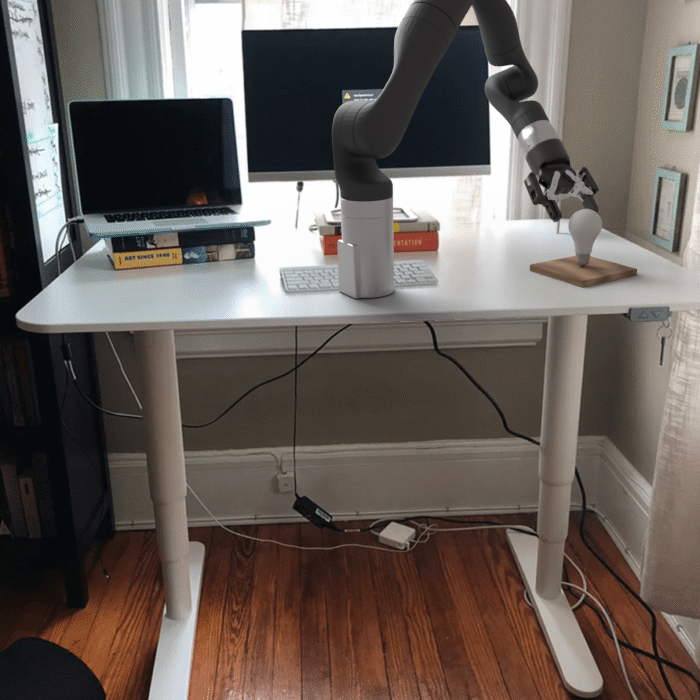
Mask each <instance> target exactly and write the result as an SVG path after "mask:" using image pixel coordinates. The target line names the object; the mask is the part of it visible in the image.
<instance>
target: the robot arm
mask: <svg viewBox="0 0 700 700" xmlns="http://www.w3.org/2000/svg"><path fill="white" fill-rule="evenodd" d="M471 7H472V9H473V12H474V15H475V17H476V22H477V24H478V28H479V31H480V36H481V40H482V44H483V48H484V53H485V56H486V60H487V62H488V63H489V65H491V66H493V67H496V68H497V67H507V66H510V67H508V68H505V69H504V70H501V71H498V72H496V73H494V74H492V75H490V76H489V77H488V78H487V79H486V82H485V83H484V93H485V97H486V98H487V101H488V102H489V103H490V105H491V106H492V107H493V108H494V109H495V110H496V111H497V112H498V113H499V114H500V115H501V116H502V117H503V118H504V120H506V122H507V123H508V124H509V125H510V127H511V129H512V131H513V133H514V135H515V138H516V139H517V142H518V145H519V148H520V150H521V152H522V155H523V157H524V159H525V161H526V163H527V164H528V167H529V169H530V171H531V172H529V174H527V176H526V177H525V179H524V180H523V182H524V183H523V184H524V186H525V189H526V190H527V193H528V196H529V197H530V198H529V199H530V200H531V203H532V205H533V206H538V205H541V206H542V207H543V208H545V211H546V213H547V214H548V217H549V218H550V220H552V221H553V223H557V222H558V221H559V220H560V221H561V219H562V218H563V214H562V212H561V211H560V209H559V207H558V202H557V201H556V199H554V198H553V197H554V195H559V194H570V195H571V196H570V197H573V198H575V197H576V198H577V199H579V201H581V202H582V205H583V207H584V209H590V210H593V211H595V212H596V213H597V214H598V213H599V210H600V209H599V206H598V204H597V202H596V199H595V198H594V197H595V195H596V194H597V193H598V192H599V191H600V188H599V187H598V185H597V183H596V181H595V180H594V178H593V176H592V175H591V173H590V171H589V169H588V168H587V167H586V166H583V167H581V168H580V169H578V170H575V169H574V168H573V167H572V166H571V158H570V155H569V154H568V151H567V150H566V147H565V146H564V143H563V142H562V140H561V138H560V136H559V134H558V131H557V130H556V128H555V127H554V126H553V125H552V123H551V121H550V118H549V117H548V115H547V113H546V111H545V109H544V107H543V106H542V104H541V103H540V102H539V101H537V100H533V99H532V100H531V99H530V100H527V99H529V98H531V97H532V96H534V95H535V94H536V92H537V90H538V87H539V79H538V76H537V74H536V72H535V70H534V68H533V66H532V65H531V63H530V62H529V60H528V58H527V56H526V54H525V51H524V49H523V46H522V42H521V36H520V32H519V26H518V23H517V22H518V21H517V19H516V16H515V14H514V11H513V9H512V7H511V5H510V4H509V3H508V1H507V0H413V1H412V3H411V4H410V5H409V7H408V9H407V10H406V12H405V14H404V16H403V17H402V19H401V21H400V22H399V24H398V27H397V28H396V31H395V35H394V39H393V40H394V41H393V68H392V73H391V74H390V77H389V78H388V81H387V82H386V84H385V85H384V88H383V89H382V91H381V92H380V94H379V95H378V96H377V98H376V99H375V100H349V101H346V102H344V103H343V104H341V105H340V106H338V109H337V110H336V112H335V114H334V117H333V121H332V125H331V126H332V127H331V141H332V142H331V144H332V145H331V146H332V154H333V168H334V176H335V181H336V183H337V184H338V185H337V186H338V189H339V192H340V194H339V195H340V197H339V198H340V224H341V225H340V226H341V227H340V228H341V230H340V231H341V239H338V240H337V245H336V246H337V266H338V267H337V268H338V269H337V271H338V272H337V273H338V274H337V275H338V291H339V293H342V294H344V295H346V296H349V297H351V298H353V299H362V298H363V299H371V298H380V297H386V296H389V295H391V294H392V293H394V291H395V275H394V274H395V273H394V272H395V271H394V268H395V266H394V265H395V263H394V262H395V261H394V258H395V257H394V254H395V253H394V183H393V180H392V179H391V178H390V177H389V176H388V175H386V174H384V173H383V172H382V170H380V168H379V166H378V165H377V162H376V159H383V158H384V159H385V158H386V157H389V156H390V155H391V154H392V153H394V152H395V150H396V149H397V147H399V145H400V143H401V141H402V139H403V137H404V136H405V133H406V131H407V129H408V126H409V124H410V122H411V119H412V117H413V115H414V112H415V110H416V108H417V106H418V104H419V101H420V99H421V96H422V95H423V93H424V91H425V89H426V87H427V86H428V83H429V81H430V79H432V76H433V74H434V72H435V70H436V68H437V66H438V64H439V63H440V61H441V60H442V58H443V57H444V55H445V54H446V52H447V50H448V49H449V47H450V46H451V43H452V41H453V40H454V38H455V36H456V34H457V33H458V30H459V28H460V26H461V25H462V22H463V21H464V19H465V17H466V15H467V14H468V13H469V12H470V10H471ZM574 184H576V185H577V187H576V189H575V190H574V189H572V188H573V187H574ZM541 186H542V188H543V190H542V188H541ZM581 191H582V192H581ZM583 193H584V194H583Z"/></svg>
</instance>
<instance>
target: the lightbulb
mask: <svg viewBox="0 0 700 700" xmlns="http://www.w3.org/2000/svg"><path fill="white" fill-rule="evenodd" d="M567 223H568V225H567V226H568V232H569V235H570V236H571V238H572V241H573V245H574V253H575V256H576V263H577V264H579V266H582V267H583V266H585V265H587V264H588V263H589V260H590V256H591V254H592V251H593V246H594V244H595V241H596V239H597V237H599V235H600V233H601V231H602V230H603V229H602V227H603V221H602V218H601V216H600V215H599V214H598V213H596V212H595V211H593V210H590V209H585V208H582V209H579V210H577V211H575V212H574V213H573V214H572V215H571V216H570V217H569V220H568V222H567Z"/></svg>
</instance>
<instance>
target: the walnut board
mask: <svg viewBox="0 0 700 700" xmlns="http://www.w3.org/2000/svg"><path fill="white" fill-rule="evenodd" d="M529 271H530V272H533V273H536V274H539V275H542V276H546V277H547V278H548V277H549V278H552V279H555V280H558V281H562V282H564V283H567V284H571V285H574V286H577V287H580V288H585V287H589V286H594V285H599V284H604V283H608V282H613V281H616V280H621V279H627V278H629V277H630V278H631V277H634V276H638V268H636V267H632V266H628V265H624V264H622V263H621V264H620V263H616V262H613V261H609V260H606V259H601V258H598V257H595V256H591V255H590V260H589V263H588V264H587V265H585V266H583V267H582V266H579V264H577V263H576V255H572V256H567V257H562V258H557V259H552V260H547V261H542V262H537V263H532V264H529Z"/></svg>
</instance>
